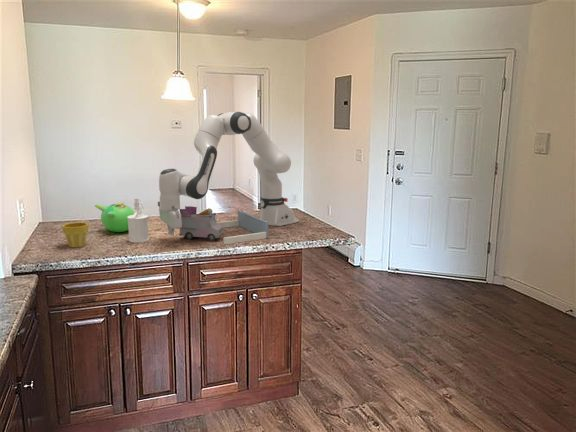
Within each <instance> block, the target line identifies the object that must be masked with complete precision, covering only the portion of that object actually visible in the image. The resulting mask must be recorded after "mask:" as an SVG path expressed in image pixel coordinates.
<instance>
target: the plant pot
mask: <svg viewBox="0 0 576 432" xmlns="http://www.w3.org/2000/svg"><path fill="white" fill-rule="evenodd" d="M88 232H89V224H88V223H87V222H83V221H82V222H80V221H78V222H68V223H65V224H63V225H62V233H63V234H64V235H65V238H66V242H67V244H68V247H69V248H72V249H73V248H75V249H76V248H82V247H85V246H86V241H87V234H88Z"/></svg>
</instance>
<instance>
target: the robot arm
mask: <svg viewBox="0 0 576 432" xmlns="http://www.w3.org/2000/svg"><path fill="white" fill-rule="evenodd" d="M223 135H225V136H226V135H227V136H228V135H229V136H233V135H234V136H235V135H242V136H243V139H244V140H245V142H246V143H247V144H248V146H249V147H250V149H251V151H253V153H255V155H254V157H253V164H254V167H255V168H256V169H257V172H258V175H259V180H260V183H261V184H260V185H261V186H260V187H261V197H260V214H259V219H262V220H264V221H267V222H268V226H278V227H281V226H285V225H286V226H287V225H290V224H291V225H292V224H295V223H299V222H300V221H299V219H298V218H297V217H296V216H295V212H294V210H293V209H292V207H289V206H288V205H287V204H286V203H288V201H289V199H288V198H287V197H283V196H282V195H283V184H282V181H281V180H280V178H279V176H278V174H283V173H287V172H289V170H290V168H291V165H292V161H291V158H290V156H289V155H287V154H286V153H284V152H283V151H282V150H281V149H280V148H279V147H278V145H276V143H274V142H273V141H272V139H271V138H270V137H269V135H268V134H267V132H266V130H265V128H264V127H263V125H262V124H261V123H260V121H259V120H258V119H257V117H256V116H255V115H254V114H253V113H250V112H246V113H245V112H242V111H227V112H223V113H219V114H217V115H216V114H209V115H207V116H206V117H205V119H204V120H203V122H202V123H201V125H200V127H199V128H198V130H197V132H196V134H195V137H194V139H193V145H194V148H195V150H196V151H197V153H199V154H200V155H201V161H200V166H199V167H198V170H197V173H196V174H195V175H189V174H184V173H182V172H180V171H179V170H177V169H176V168H167V169H163V170H162V171H160V174H159V176H158V177H159V178H158V187H159V188H158V190H159V194H160V195H159V201H157V206H158V212H159V213H158V214H159V219H160V221H161V222H162V223H164V224H166V227H167V230H168V231H167V232H168V234H169V235H170V236H173V235H175V230H180V228H181V227H182V220H181V213H180V209H181V200H180V199H181V197H180V196H184V197H189V198H191V199H194V200H200V199H203V198H204V197H205V196H206V195H207V194H208V191H209V184H210V179H211V176H212V174H213V169H214V167H215V164H216V161H217V157H218V150H217V149H218V145H219V143H220V142H221V141H220V140H221V138H222V136H223Z"/></svg>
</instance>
